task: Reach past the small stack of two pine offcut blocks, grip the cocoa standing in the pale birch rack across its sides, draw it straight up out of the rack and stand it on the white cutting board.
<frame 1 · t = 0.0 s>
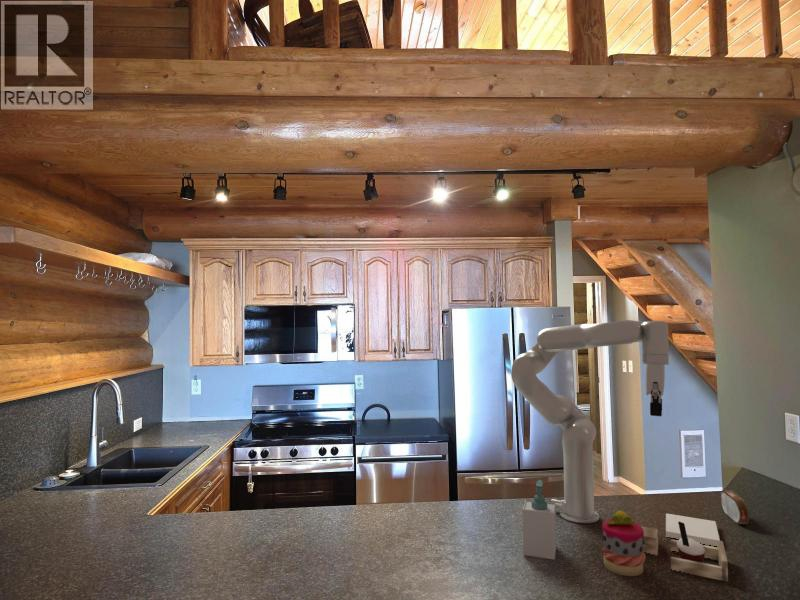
hand: (656, 413, 161), 37 cm above the countertop, tool pointing down, fingers open, 9 cm apart
cocoa: (690, 564, 138), on the countertop
cake: (623, 567, 136), on the countertop
soap bottle: (539, 551, 145), on the countertop
rack: (690, 563, 138), on the countertop
offcut lower: (648, 549, 147), on the countertop, touching offcut upper
offcut upper: (648, 540, 148), point 2 cm above the countertop, touching offcut lower
tin: (734, 520, 169), on the countertop
cutting board: (691, 532, 158), on the countertop
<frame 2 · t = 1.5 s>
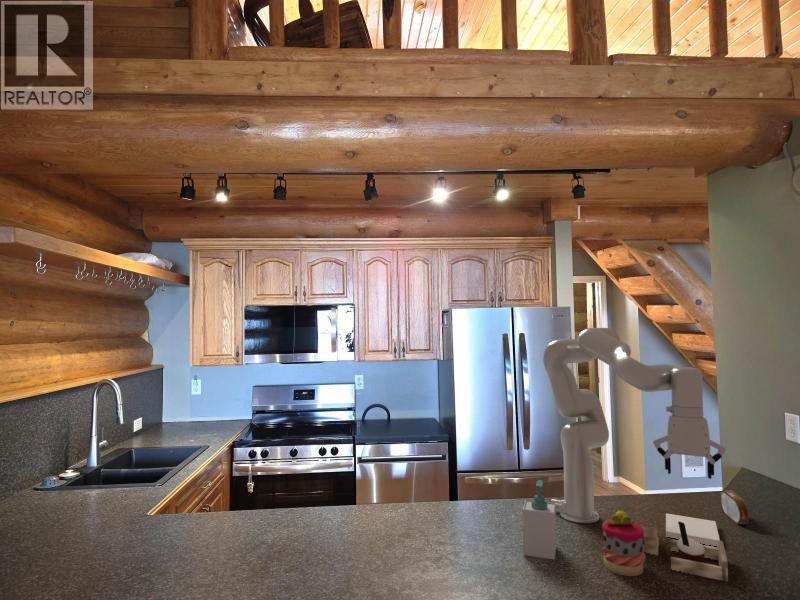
hand: (689, 474, 139), 24 cm above the countertop, tool pointing down, fingers open, 9 cm apart
nothing on the countertop moved.
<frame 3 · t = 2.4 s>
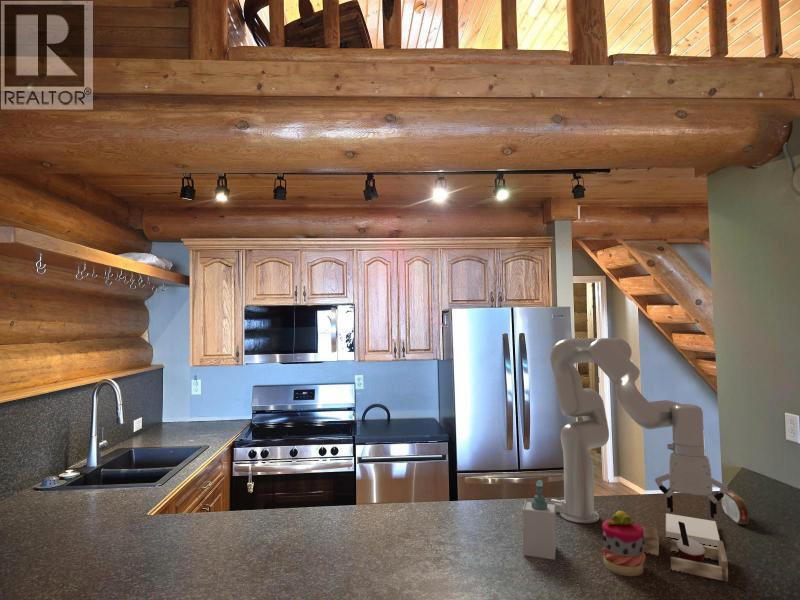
hand: (691, 513, 138), 14 cm above the countertop, tool pointing down, fingers open, 9 cm apart
nothing on the countertop moved.
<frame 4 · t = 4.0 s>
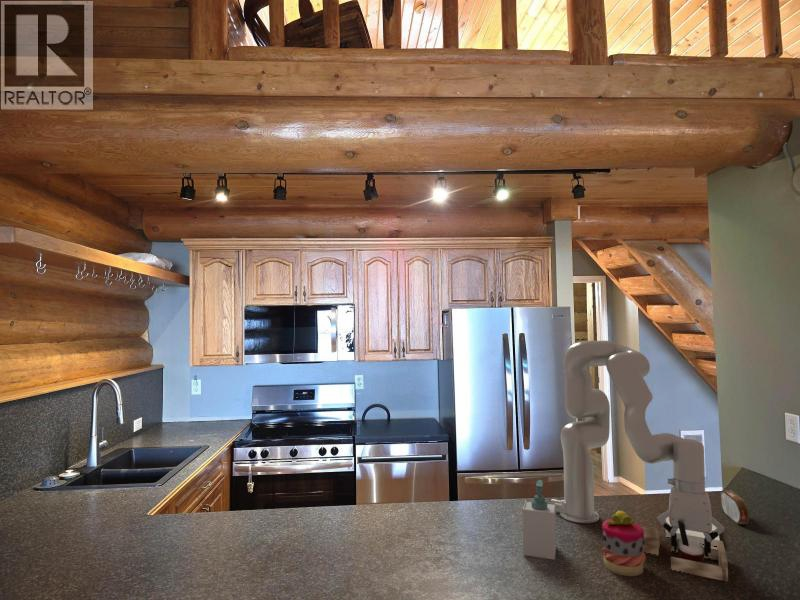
hand: (690, 551, 138), 3 cm above the countertop, tool pointing down, fingers closed on cocoa, 6 cm apart
cocoa: (690, 563, 138), on the countertop, touching gripper
everything else where it was.
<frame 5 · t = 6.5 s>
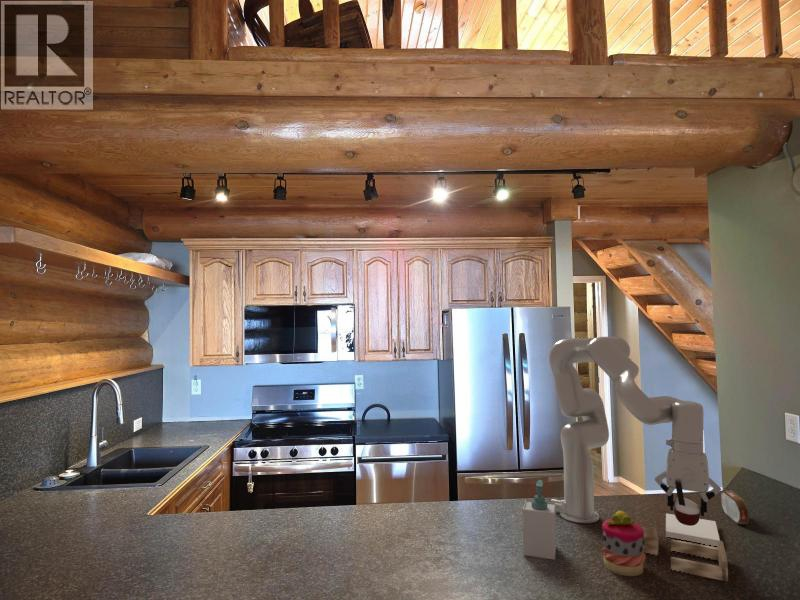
hand: (686, 511, 139), 14 cm above the countertop, tool pointing down, fingers closed on cocoa, 6 cm apart
cocoa: (685, 523, 139), point 10 cm above the countertop, touching gripper
everything else where it was.
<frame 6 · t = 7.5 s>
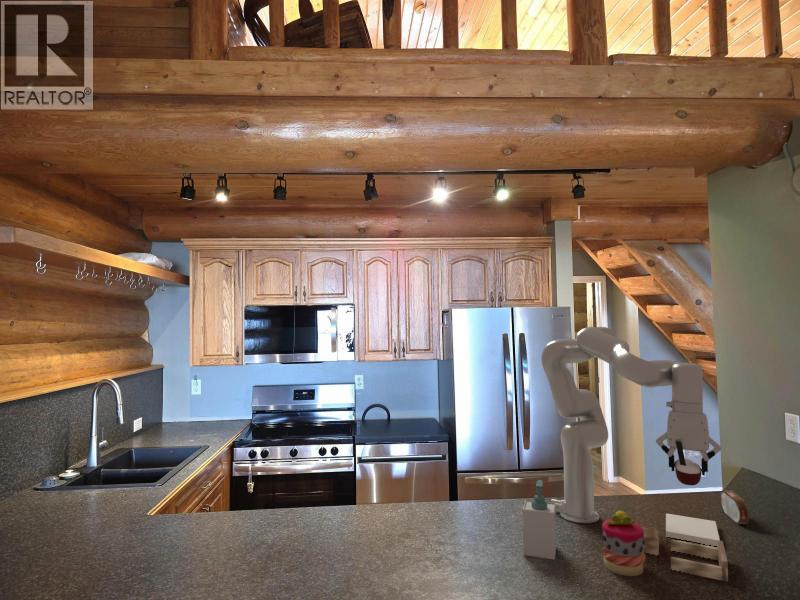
hand: (687, 471, 140), 24 cm above the countertop, tool pointing down, fingers closed on cocoa, 6 cm apart
cocoa: (687, 484, 140), point 21 cm above the countertop, touching gripper
offcut lower: (649, 549, 147), on the countertop
offcut upper: (649, 541, 147), point 2 cm above the countertop
everything else where it was.
when the fingers open (6 cm above the countertop, at t = 11.8 s): cocoa stays where it is, resting on cutting board.
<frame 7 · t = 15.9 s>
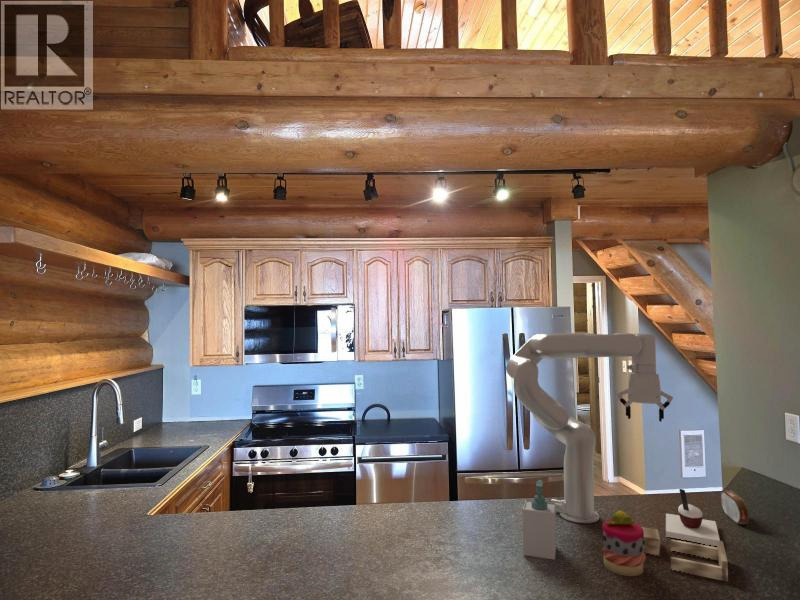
hand: (644, 419, 173), 32 cm above the countertop, tool pointing down, fingers open, 9 cm apart
cocoa: (690, 526, 158), point 2 cm above the countertop, touching cutting board
everything else where it was.
at the end: cocoa inside the target area on the cutting board (0.3 cm from its centre), point 1.8 cm above the cutting board's base; cocoa tilted 0°; offcut upper moved 0.8 cm from its start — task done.
